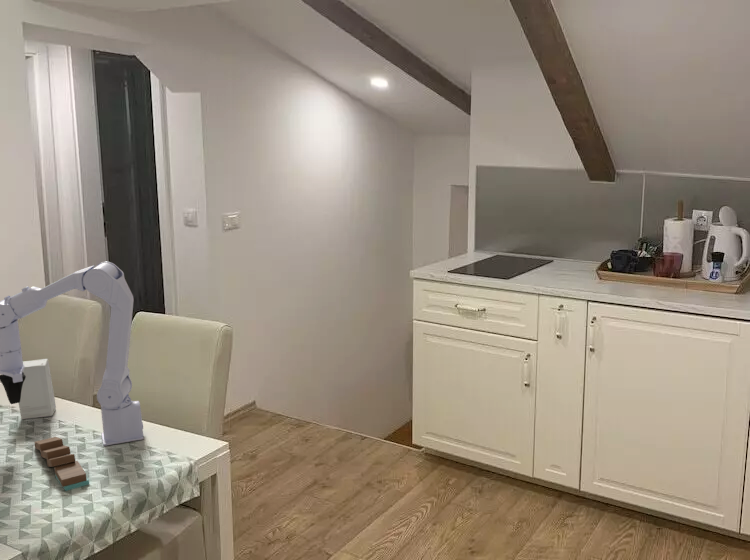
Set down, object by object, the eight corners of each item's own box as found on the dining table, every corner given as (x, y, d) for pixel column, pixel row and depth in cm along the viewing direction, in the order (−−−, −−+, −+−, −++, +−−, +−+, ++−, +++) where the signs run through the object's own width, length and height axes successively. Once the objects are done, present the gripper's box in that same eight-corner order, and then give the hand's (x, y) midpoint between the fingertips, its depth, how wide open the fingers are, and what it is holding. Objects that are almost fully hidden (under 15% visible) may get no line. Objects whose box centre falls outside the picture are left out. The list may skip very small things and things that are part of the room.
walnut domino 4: (54, 466, 171) (61, 480, 164) (77, 460, 174) (85, 473, 167) (55, 473, 171) (62, 486, 165) (78, 467, 174) (86, 480, 167)
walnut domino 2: (40, 450, 182) (46, 452, 175) (62, 444, 185) (69, 446, 178) (41, 456, 182) (47, 459, 175) (63, 451, 185) (70, 453, 178)
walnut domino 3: (46, 459, 177) (50, 459, 170) (69, 454, 180) (74, 454, 173) (47, 466, 177) (51, 466, 170) (70, 460, 179) (75, 461, 173)
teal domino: (55, 473, 171) (65, 486, 165) (78, 467, 174) (88, 480, 168) (56, 480, 171) (66, 493, 165) (78, 473, 174) (89, 486, 168)
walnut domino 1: (34, 441, 187) (39, 444, 180) (55, 436, 190) (62, 438, 183) (35, 448, 187) (40, 450, 180) (56, 443, 190) (63, 445, 183)
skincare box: (56, 409, 212) (50, 357, 209) (52, 417, 206) (46, 364, 203) (23, 412, 210) (17, 360, 207) (18, 420, 204) (12, 367, 201)
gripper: (-16, 346, 189) (-9, 398, 192) (-4, 360, 177) (3, 415, 180) (14, 340, 193) (21, 391, 196) (29, 354, 182) (35, 408, 184)
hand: (14, 402), depth 188 cm, fingers closed
